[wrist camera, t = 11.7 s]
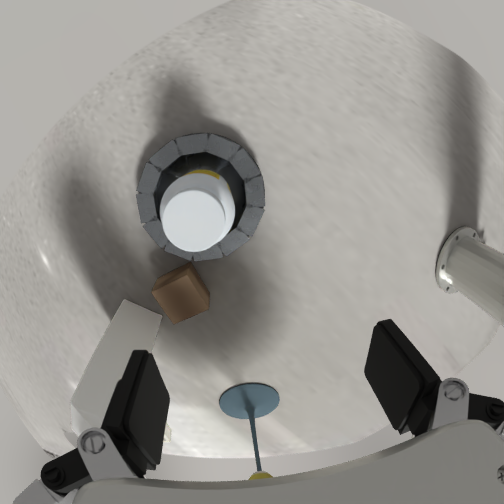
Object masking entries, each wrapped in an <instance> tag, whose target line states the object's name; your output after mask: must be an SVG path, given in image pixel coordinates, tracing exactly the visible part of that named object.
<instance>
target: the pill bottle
mask: <svg viewBox="0 0 504 504" xmlns="http://www.w3.org/2000/svg"><path fill="white" fill-rule="evenodd" d="M234 217H235V205H234V200H233V196H232V194H231V190H230V187H229V185H228V183H227V182H226V180H225V179H224V178H223V177H222V176H221V175H219V174H218V173H216V172H214V171H211V170H207V169H199V170H194V171H192V172H189V173H187V174H186V175H184V176H182V177H180V178H178V179H177V180H175V181H174V182H173V183H172V184H171V185H170V186H169V187H168V188H167V190H166V191H165V193H164V195H163V197H162V200H161V204H160V218H161V222H162V226H163V230H164V232H165V235H166V236H167V238H168V239H169V240H170V242H171V243H172V244H174V245H175V246H176V247H178V248H180V249H182V250H185V251H190V252H198V251H203V250H206V249H208V248H210V247H212V246H213V245H214V244H216V243H217V242H219V241H220V240H222V239H223V238H224V237H225V236H226V234H227V233H228V232H229V230H230V228H231V226H232V224H233V221H234Z"/></svg>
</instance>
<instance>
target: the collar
mask: <svg viewBox="0 0 504 504" xmlns="http://www.w3.org/2000/svg"><path fill="white" fill-rule="evenodd" d="M149 160H150V162H146V165H145V168H144V170H143V173H142V176H141V179H140V181H139V184H138V187H137V190H136V191H138V192H139V193H138V194H136V198H137V203H138V209H139V214H140V220H141V223H146V224H145V225H144V226H143V227H144V229H145V230H146V231H147V232H148V234H149V235H150V236H151V237H152V238H153V240H154V241H155V242H156V243H157V244H158V245H159V247H160V248H162V247H164V246H166V247H165V250H164V251H166V252H169V253H171V254H174V255H176V256H179V257H182V258H184V259H187V260H189V261H191V259H192V257H194V261H202V260H210V259H218V258H223V254H225V255H226V256H228V255H229V254H230V253H232V252H233V251H235V250H236V249H237V248H239V247H240V246H242V245H243V244H244V243H246V242H247V241H248V240H250V239H249V236H253V234H254V232H255V230H256V227H257V225H258V223H259V221H260V219H261V217H262V215H263V213H264V209H263V207H264V206H265V189H264V182H263V176H262V175H261V172H260V170H259V168H258V166H257V164H256V163H255V161H254V159H253V158H252V157H251V156H250V154H249V153H248V152H247V151H246V150H245V149H244V148H242V147H241V146H240V145H238V144H237V143H236V142H234V141H232V140H230V139H228V138H226V137H223V136H220V135H215V134H210V133H196V134H190V135H185V136H182V137H178V138H176V139H175V140H171V141H170V142H169V143H167V144H166V145H165V146H164V147H162V148H161V149H160V150H159V151H158V152H157V153H155V154H154V155H153V156H152V157H151V158H150V159H149ZM199 169H207V170H211V171H214V172H216V173H218V174H219V175H221V176H222V177H223V178H224V179H225V180H226V182H227V183H228V185H229V187H230V190H231V194H232V196H233V200H234V205H235V217H234V221H233V224H232V226H231V228H230V230H229V232H228V233H227V234H226V236H225V237H224V238H223V239H222V240H220V241H219V242H217V243H216V244H214V245H213V246H212V247H210V248H208V249H206V250H203V251H198V252H190V251H185V250H182V249H180V248H178V247H176V246H175V245H174V244H172V243H171V242H170V240H169V239H168V238H167V236H166V235H165V232H164V230H163V226H162V222H161V218H160V204H161V200H162V197H163V195H164V193H165V191H166V190H167V188H168V187H169V186H170V185H171V184H172V183H173V182H174V181H175V180H177V179H178V178H180V177H182V176H184V175H186V174H187V173H189V172H192V171H194V170H199Z"/></svg>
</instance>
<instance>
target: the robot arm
mask: <svg viewBox="0 0 504 504" xmlns="http://www.w3.org/2000/svg"><path fill="white" fill-rule="evenodd" d="M436 279H437V283H438V285H439V287H440V288H441V289H442V290H443V291H444V292H446V293H449V294H452V293H456V292H458V291H459V292H460V293H461V294H463V295H464V296H465V297H467V298H468V299H469V300H471V301H472V302H473V303H475V304H476V305H477V306H478V307H480V308H481V309H482V310H484V311H485V312H486V313H487V314H489V315H490V316H491V317H492V318H494V319H495V320H496V321H497V322H498V323H500V324H501V325H502V326H503V327H504V254H503V253H501V252H499V251H497V250H495V249H493V248H491V247H489V246H487V245H485V244H483V243H481V242H480V239H479V236H478V234H477V232H476V231H475V230H474V229H472V228H470V227H466V226H465V227H461V228H458V229H457V230H456V231H454V232H453V233H452V234H451V235H450V236H449V238H448V239H447V241H446V242H445V244H444V246H443V248H442V250H441V252H440V255H439V258H438V262H437V268H436ZM364 373H365V376H366V378H367V380H368V382H369V384H370V385H371V387H372V389H373V391H374V393H375V395H376V396H377V398H378V400H379V402H380V404H381V406H382V407H383V409H384V411H385V413H386V415H387V417H388V419H389V421H390V422H391V424H392V426H393V428H394V429H395V430H398V431H399V433H400V435H401V434H403V433H406V432H408V431H411V433H412V439H410V440H408V441H405V442H403V443H400V444H398V445H395V446H393V447H390V448H388V449H385V450H382V451H379V452H377V453H374V454H371V455H368V456H365V457H362V458H359V459H356V460H352V461H349V462H345V463H342V464H338V465H334V466H330V467H326V468H322V469H318V470H313V471H308V472H303V473H298V474H292V475H286V476H279V477H272V478H264V479H254V480H242V481H221V482H196V481H195V482H194V481H193V482H192V481H169V480H158V479H147V478H146V477H145V474H146V469H149V470H155V469H156V464H157V465H158V464H160V460H161V453H162V446H163V440H164V433H165V427H166V421H167V414H168V409H169V403H170V397H169V393H168V391H167V389H166V386H165V384H164V382H163V379H162V377H161V375H160V372H159V370H158V367H157V365H156V362H155V360H154V357H153V355H152V353H149V352H148V351H147V350H133V351H132V354H131V356H130V358H129V361H128V363H127V366H126V369H125V371H124V374H123V376H122V379H120V380H118V382H117V384H116V387H115V389H114V392H113V395H112V397H111V400H110V403H109V405H108V408H107V411H106V414H105V417H104V419H103V422H102V425H101V428H89V429H86V430H85V431H83V432H82V433H81V434H80V435H79V438H78V440H77V447H78V448H76V449H74V450H72V451H70V452H68V453H66V454H64V455H62V456H60V457H58V458H56V459H54V460H52V461H50V462H48V463H47V464H45V465H44V466H43V468H42V470H41V479H40V480H38V479H36V480H35V481H34V482H33V483H32V484H31V485H29V486H28V487H27V488H26V489H25V490H24V491H23V492H22V493H21V494H20V495H19V496H18V497H17V498H16V499H15V500H14V502H13V504H504V402H503V401H501V400H500V399H497V398H492V397H487V396H481V395H477V394H471V393H469V388H468V387H467V385H466V384H465V382H463V381H462V380H460V379H457V378H448V379H445V380H444V381H443V382H442V381H441V380H440V377H439V376H438V375H437V374H436V372H435V371H434V370H433V368H432V367H431V366H430V365H429V364H428V362H427V361H426V360H425V359H424V357H423V356H422V355H421V354H420V352H419V351H418V350H417V349H416V348H415V346H414V345H413V344H412V343H411V342H410V341H409V339H408V338H407V337H406V336H405V335H404V333H403V332H402V331H401V330H400V329H399V328H398V326H397V325H396V324H395V323H394V322H393V321H392V320H391V319H387V320H383V321H379V322H378V323H377V325H376V326H374V329H373V334H372V338H371V343H370V348H369V352H368V357H367V361H366V365H365V369H364Z"/></svg>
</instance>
